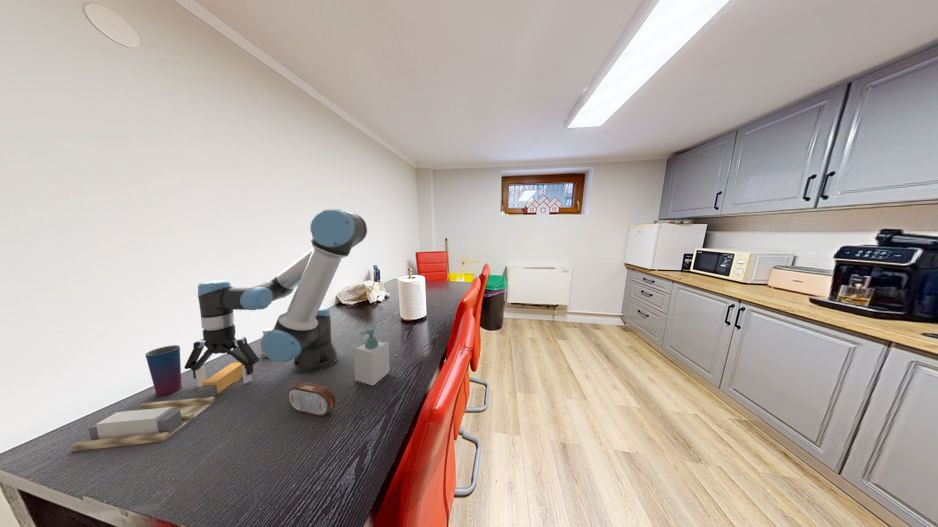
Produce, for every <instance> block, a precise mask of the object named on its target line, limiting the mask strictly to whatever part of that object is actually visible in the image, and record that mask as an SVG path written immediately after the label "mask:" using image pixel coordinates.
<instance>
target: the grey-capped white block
mask: <svg viewBox="0 0 938 527" xmlns="http://www.w3.org/2000/svg"><path fill="white" fill-rule="evenodd" d="M181 424H182V419H181V412H180V410H179V411H173V410H172V407H167V408H156V409H145V410H140V409H136V410H124V411H123V410H122V411H117V412H115V413H112V414H111V415H110V416H107V417H104V418H103V419H101V420H100V421H98V422H96V423H94V424H92V425H91V426H89V427H88V432H89V439H90V440H98V439H107V438H117V437H126V436H135V435H145V434H154V433H164V432H168V433H169V434H170V433H171V432H172V431H173V430H175V429H176V428H177V427H179V426H180V425H181Z"/></svg>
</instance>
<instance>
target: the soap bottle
mask: <svg viewBox="0 0 938 527" xmlns="http://www.w3.org/2000/svg"><path fill="white" fill-rule="evenodd" d="M376 329H377V327H376V326H372V327H370V328H367V329H366V330H364V331H361V332H360V335H361V336H362V335H369V336H368V337H367V338H366V341H363V342H361V343H360V344H358V345H356V346H354V347H353V367H354V381H355V380H357V381H361V382H363V383H366V384H369V385H372V386H373V385H375V384H376V383H377V382H378V381H379V380H380V379H381V378H382V377H384V376H385V375H386V374H387V373H388V372H389V371H390V342H389V341H386V340H385V341H384V340H380V339H377V338H376V336H375V335H374V334H375V332H374V330H376ZM390 372H391V371H390ZM357 381H356V382H357ZM363 383H362V384H363ZM366 384H365V385H366ZM377 384H378V383H377ZM377 384H376V385H377ZM369 385H368V386H369ZM376 385H375V386H376ZM372 386H371V387H372Z"/></svg>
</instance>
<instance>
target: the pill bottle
mask: <svg viewBox="0 0 938 527" xmlns="http://www.w3.org/2000/svg"><path fill="white" fill-rule="evenodd" d="M274 327H275V326H270V327H266V328H264V329H263V330H262V334H263V335H262V336H260V341H261V339H262V337H263V336H264V335H265V334H266V333H267V332H269V331H271V330H273V328H274ZM260 350H261V357H262V358H265V357H267V356H266V355H265V353H264V352H263V351H262V349H261V348H260Z"/></svg>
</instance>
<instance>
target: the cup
mask: <svg viewBox="0 0 938 527" xmlns="http://www.w3.org/2000/svg"><path fill="white" fill-rule="evenodd" d="M180 347H181V346H180V345H177V344H173V345H167V346H162V347H159V348H155V349H152V350H149V351H148V352H146V353H145V354H144V356H145V359H146V362H147V366H148V368H149V373H150V376H151V380H152V384H153V387H154V392H155V394H156V397H165V396H169V395H171V394H175V393H177V392H178V391H180V390H181V389H182V368H181V365H182V364H181V348H180Z"/></svg>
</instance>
